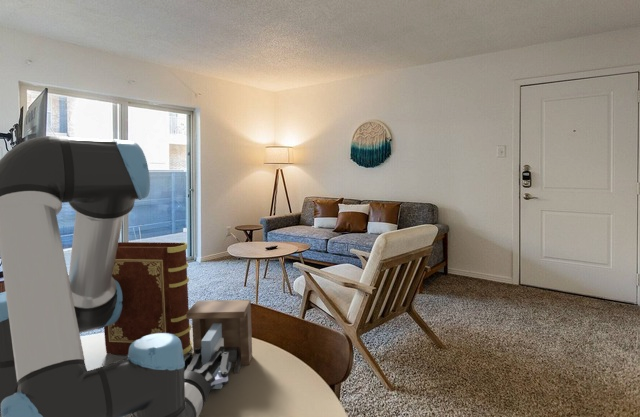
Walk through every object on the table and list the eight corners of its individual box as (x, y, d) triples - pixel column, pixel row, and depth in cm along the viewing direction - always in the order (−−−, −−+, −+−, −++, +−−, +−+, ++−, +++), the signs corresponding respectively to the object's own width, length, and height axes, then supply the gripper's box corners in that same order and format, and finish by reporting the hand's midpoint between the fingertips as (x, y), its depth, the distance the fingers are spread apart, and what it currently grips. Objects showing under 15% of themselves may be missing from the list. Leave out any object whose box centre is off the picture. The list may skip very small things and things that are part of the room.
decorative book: (195, 345, 109) (191, 242, 107) (182, 358, 101) (177, 247, 99) (123, 342, 112) (117, 241, 109) (105, 354, 104) (98, 246, 102)
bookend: (194, 389, 84) (192, 341, 83) (206, 366, 94) (205, 323, 93) (221, 388, 84) (219, 340, 83) (231, 366, 94) (229, 323, 93)
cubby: (189, 374, 93) (186, 312, 92) (200, 357, 102) (197, 300, 100) (246, 373, 93) (244, 311, 92) (252, 355, 102) (250, 299, 101)
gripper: (142, 421, 69) (186, 358, 92) (225, 418, 69) (248, 357, 92) (139, 381, 68) (184, 328, 91) (224, 379, 68) (247, 327, 92)
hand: (216, 343), depth 92 cm, fingers closed on bookend, 2 cm apart
